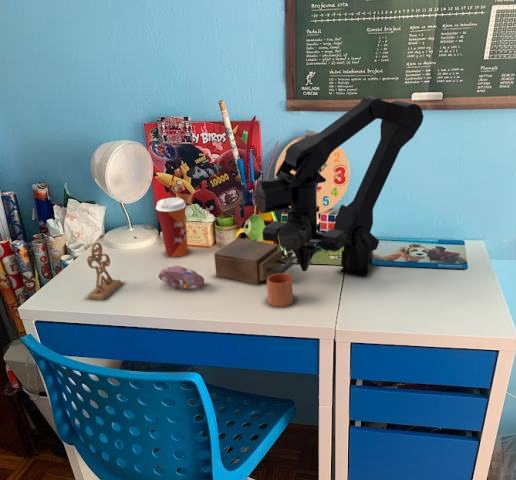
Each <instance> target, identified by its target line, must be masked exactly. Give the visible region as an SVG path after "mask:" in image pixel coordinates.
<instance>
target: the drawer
mask: <svg viewBox="0 0 516 480" xmlns="http://www.w3.org/2000/svg"><path fill="white" fill-rule="evenodd" d="M294 263H295V262H294V261H293V260H292V259H289V260H288V261H287V260H283V255H282V249H280V248H278V249H277V250H275V251H274V252H273V253H270V254H269V255H268V256H266V257H265V258H264V259H262V260H261V261H260V262H258V268H259V280H260V281H262V282H264V281H265V280H267V277H268V276H270V275H272V274H277V273H286V272H287V271H288V270H289V269H290V268H292V267H293V266H294Z"/></svg>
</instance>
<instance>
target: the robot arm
mask: <svg viewBox="0 0 516 480" xmlns="http://www.w3.org/2000/svg"><path fill="white" fill-rule="evenodd" d="M424 117H425V115H424V113H423V110H422V107H421V106H420V105H419V104H416V103H412V102H408V101H404V100H396V99H395V100H393V101H391V102H390V101H385V100H383V99H382V98H379V97H374V96H370V95H369V96H366V97H363V98H362V99H361V100H360V102H359V103H357V104H356V105H355V106H353V107H352V108H351V109H349V110H348V111H347V112H345V113H344V114H342V115H341V116H340V117H338V118H337V119H336V120H334V122H332V123H331V124H329V125H328V126H327V127H325V128H324V129H322V130H321V131H320V132H318V133H316V134H314V135H310V136H307V137H304V138H302V139H300V140H298V141H296V142H294V143H292V144H290V145H289V146H288V147H287V149H286V150H285V156H284V158H283V161H282V162H281V164H280V166H279V168H278V169H277V171H276V173H275V177H274V178H268V179H267V178H266V179H265V178H264V179H258V181H257V185H258V186H256V189H255V193H254V201H255V205H256V208H257V210H258V212H259V213H260V214H261V215H263V214H268V213H273V212H277V211H283V210H287V209H288V208H289V207H290V210H288V211H287V217H286V221H276V220H273V221H272V222H271V223H268V224H267V225H266V226H264V227H263V228H262V231H261V234H262V240H263V241H268V242H275V241H276V240H277V239H278V243H279V246H280V248H282V249H283V248H287V249H291V251H293V253H294V255H295V256H296V259H297V261H298V265H299V267H300V269H301V271H302V272H306V271H308V269H309V267H310V264H311V262H312V259H313V257H314V255H315V253H316V250H317V249H318V248H319V247H321V249H323V250H324V251H329V252H339V251H340V250H341V249H342V248H343V249H342V250H341V260H340V262H341V264H340V266H341V269H340V271H339V272H340V273H343V274H346V275H347V274H348V275H353V276H360V277H367V276H368V275H369V274H370V272H371V271H372V270H373V269H374V268H375V267H376V265H375V264H374V263H373V260H374V259H373V258H374V257H373V256H374V251H377V249H378V246H379V243H380V240H379V239H377V237H376V236H374V235H373V234H372V232H371V231H372V228H373V225H374V208H375V206H376V204H377V201H378V200H379V197H380V195H381V192H382V190H383V189H384V186H385V184H386V182H387V180H388V177H389V175H390V173H391V171H392V169H393V167H394V164H395V163H396V161H397V159H398V156H399V155H400V151H401V150H402V148H403V147H404V146H405V145H407V143H409V142H410V141H411V140H412V139H414V137H415V135H416V134H417V131H419V129H420V127H421V126H422V124H423V121H424ZM377 119H379V120H381V122H380V139H379V142H378V144H377V147H376V148H375V151H374V153H373V156H372V158H371V160H370V162H369V165H368V167H367V169H366V171H365V174H364V175H363V178H362V180H361V182H360V184H359V186H358V189H357V191H356V193H355V195H354V198H353V200H352V201H351V202H350V203H348V205H347V206H346V205H344V204H341V205H340V206H339V209H338V212H337V214H336V216H335V218H333V222H334V225H333V228H330V229H329V230H327V231H325V232H324V233H323V232H321V231H318V230H319V229H320V224H319V223H318V212H320V206H319V205H318V204H317V203H318V201H317V200H318V199H317V198H318V197H317V195H318V192H317V188H318V187H317V184H322V183H326V182H327V179H326V178H325V177H324V176H323V175H322V174H321V173H320V171H319V170H320V169H321V168H323V166H324V165H325V164H326V163H327V162H328V160H329V158H330V156H331V154H332V153H333V152H334V151H335V150H336V149H338V148H340V147H341V146H343V145H344V144H345V143H346V142H347V141H349V140H350V139H351V138H353V137H354V136H355V135H357V134H358V133H359V132H360V131H363V129H365V128H366V127H367V126H369V125H370V124H372V123H373V122H374V121H375V120H377ZM292 171H293V172H294V173H292Z"/></svg>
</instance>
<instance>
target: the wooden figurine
mask: <svg viewBox="0 0 516 480" xmlns="http://www.w3.org/2000/svg"><path fill="white" fill-rule="evenodd" d="M96 246H97V247H96ZM90 252H91V255H88V256H87V258H86V261H87V265H88V267H89V268H90V269H95V273H96V283H95V289H93V290H92V291H91V292H90V293H89V294H88V299H89V300H97V301H105V299H106V298H107V297H108V296H110V295H111V294H112V293H114V292H115V291H116V289H118V288H119V287H120V286H121V285H122V282H121V280H120V279H113V278H112V276H110V273H108V271H107V268H106V267H109V266H111V259H110V256H109V255H108V254H106V253H103V246H102V244H101V243H100V242H94V243H93V244H92V245H91V251H90ZM103 256H104V257H105V260H103ZM94 262H95V263H97V265H95V266H93V265H92V264H93V263H94ZM103 273H104V274H105V276H106V278H105V276H104V275H102V274H103Z"/></svg>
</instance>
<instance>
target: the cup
mask: <svg viewBox="0 0 516 480" xmlns="http://www.w3.org/2000/svg"><path fill="white" fill-rule="evenodd" d="M293 281H294V280H293V276H292V275H290V274H289V273H286V272H284V273H273V274H272V275H270V276H268V277H267V279H266V290H267V291H266V293H267V303H268V304H269V305H270V306H272V307H275V308H282V307H288V306H290V305H291V304H293V302H294V284H293V283H294V282H293Z"/></svg>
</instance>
